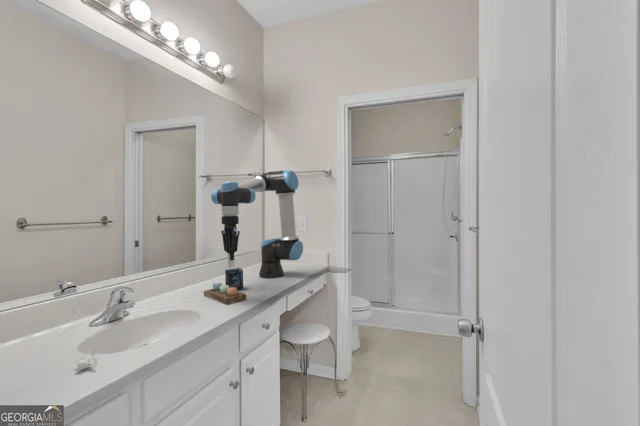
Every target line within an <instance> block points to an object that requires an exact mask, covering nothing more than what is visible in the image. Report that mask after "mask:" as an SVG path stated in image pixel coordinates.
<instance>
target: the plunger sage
mask: <svg viewBox="0 0 640 426" xmlns="http://www.w3.org/2000/svg"><path fill="white" fill-rule="evenodd" d="M228 288H229V285H226V284H222V286H220V294H227V289H228Z"/></svg>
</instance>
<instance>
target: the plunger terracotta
mask: <svg viewBox="0 0 640 426" xmlns="http://www.w3.org/2000/svg"><path fill="white" fill-rule="evenodd" d="M237 291H238V290H237V288H236V287H231V288H228V289H227V296H228V297H233V296H237Z"/></svg>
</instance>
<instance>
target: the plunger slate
mask: <svg viewBox="0 0 640 426" xmlns="http://www.w3.org/2000/svg"><path fill="white" fill-rule="evenodd" d="M222 285H223V283H221V282H216V283H212V289H213V291H214V292H217V291H220V286H222Z"/></svg>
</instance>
